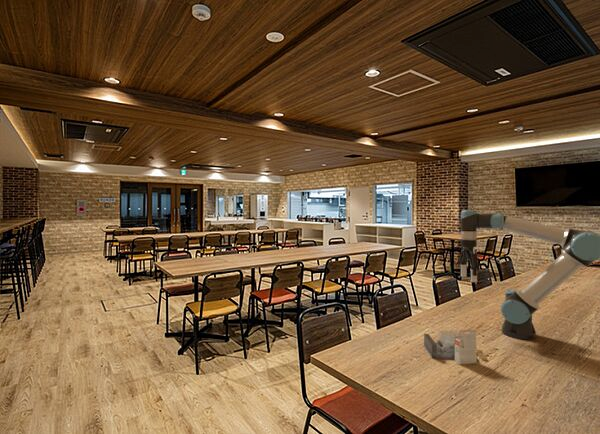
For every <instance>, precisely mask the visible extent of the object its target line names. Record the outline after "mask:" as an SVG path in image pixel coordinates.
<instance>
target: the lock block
mask: <svg viewBox="0 0 600 434" xmlns="http://www.w3.org/2000/svg"><path fill="white" fill-rule="evenodd" d="M455 339H460V336H459V331H457V330H438V340H437V342H438V344H439V346H440V348H441V349H442V350H443V351H455Z"/></svg>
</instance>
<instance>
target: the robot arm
mask: <svg viewBox="0 0 600 434" xmlns="http://www.w3.org/2000/svg"><path fill="white" fill-rule="evenodd" d="M477 229H494V230H497V229H498V230H502V231H506V232H510V233H514V234H518V235H521V236H525V237H530V238H533V239H538V240H541V241H545V242H549V243H552V244H556V245H559V246H561V249H560V251H561V253H560V255H559V256H558V257H557V258H556V259H555V260H553V262H552V261H551V263H550V264H549V265H548V266H547V267H545V269H544V270H542V271H541V272H540V273H539V274H538V275H537V276H536V277H534V279H532V280H531V281H530V282H529V283H528V284H527V285H526V286H524V288H522V289H506V290H505V293H504V295H505V299H504V301H503V302H502V304H501V305H500V312H501V315H502V317H503V318H504V320H503V324H502V326H501V333H502V334H504V335H505V336H507V337H511V338H513V339H519V340H535V339H536V338H537V332H536V329H535V326H534V323H533V314H534V313H535V312H537V311H538V310H539V309H540V306H539V305H540V303H541V302H542V301H543V300H544V299H546V298H547V297H548V296H549V295H550V294H551V293H553V292H554V291H555V290H557V289H558V287H560V286H561V285H562V284H563V283H564V282H565V281H566V280H568V279H569V278H570V277H572V275H574V274H575V273H576V272H577V271H578V270H580V269H581V268H588V267H589V266H591V264H593V263H594V262H595V261H597V260H599V259H600V235H599V234H598V233H596V232H594V231H590V230H579V229H573V228H567V229H564V228H559V227H555V226H550V225H545V224H544V223H543V224H542V223H538V222H534V221H530V220H525V219H521V218H517V217H511V216H506V215H503V214H502V213H495V212H493V213H478V212H477V210H476V209H475V210H474V209H471V210H470V209H465V210H462V211H461V212H460V233H459V235H460V246H461V249H460V255H459V259H458V262H459V264H460V277H461V278H463V277H464V278H466V277H468V276H467V272H468V271H467V265H468V263H467V261H468V260H469V264H470V282H471V283H478V270H479V269H480V264H479V259H478V258H479V257H478V252H477V249H474V248H476V247H477V245H478V243H477V241H478V240H477V237H478V234H477V233H478V232H477Z"/></svg>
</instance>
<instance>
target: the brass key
mask: <svg viewBox="0 0 600 434" xmlns="http://www.w3.org/2000/svg"><path fill="white" fill-rule="evenodd" d="M476 357H478V358H479V359H481V361H486V362H487V361H488V357H487V355H485V354H484V353H483V351H482V350H480V349H476Z"/></svg>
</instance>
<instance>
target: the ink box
mask: <svg viewBox="0 0 600 434" xmlns="http://www.w3.org/2000/svg"><path fill="white" fill-rule="evenodd" d="M467 332H469V333H467ZM458 333H459V336H460V339H455V359H454V362H456V363H457V364H458V365H472V364H477V355H476V350H477V329H464V330H459V331H458Z"/></svg>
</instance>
